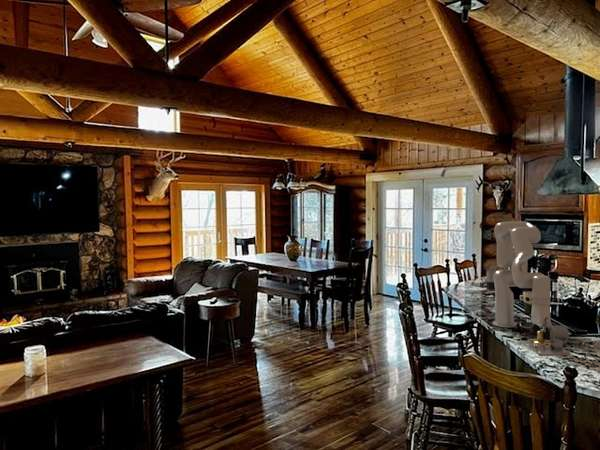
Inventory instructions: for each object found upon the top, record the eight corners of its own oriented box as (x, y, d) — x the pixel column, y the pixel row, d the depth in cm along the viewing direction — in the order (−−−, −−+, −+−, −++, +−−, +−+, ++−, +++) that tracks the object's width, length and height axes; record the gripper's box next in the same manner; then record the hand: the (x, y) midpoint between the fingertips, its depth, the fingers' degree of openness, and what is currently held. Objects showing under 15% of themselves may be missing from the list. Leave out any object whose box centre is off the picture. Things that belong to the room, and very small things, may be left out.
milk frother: (497, 290, 350) (497, 271, 349) (476, 288, 359) (476, 270, 358) (500, 287, 362) (500, 269, 361) (480, 285, 371) (480, 268, 370)
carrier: (521, 343, 221) (521, 333, 220) (550, 343, 220) (550, 333, 220) (538, 355, 204) (538, 344, 203) (569, 354, 203) (569, 344, 203)
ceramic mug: (546, 337, 229) (546, 323, 228) (563, 338, 227) (564, 323, 226) (553, 344, 218) (553, 329, 218) (571, 345, 217) (571, 329, 216)
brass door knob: (530, 342, 217) (530, 329, 217) (544, 342, 217) (544, 329, 217) (537, 347, 210) (537, 333, 210) (552, 347, 210) (552, 333, 210)
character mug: (520, 314, 277) (520, 293, 276) (518, 311, 284) (518, 291, 283) (540, 314, 274) (540, 294, 273) (537, 312, 280) (537, 291, 280)
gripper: (524, 297, 222) (524, 331, 222) (542, 305, 204) (542, 342, 205) (540, 297, 221) (540, 331, 222) (558, 305, 204) (558, 342, 205)
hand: (541, 336), depth 214 cm, fingers open, 9 cm apart
